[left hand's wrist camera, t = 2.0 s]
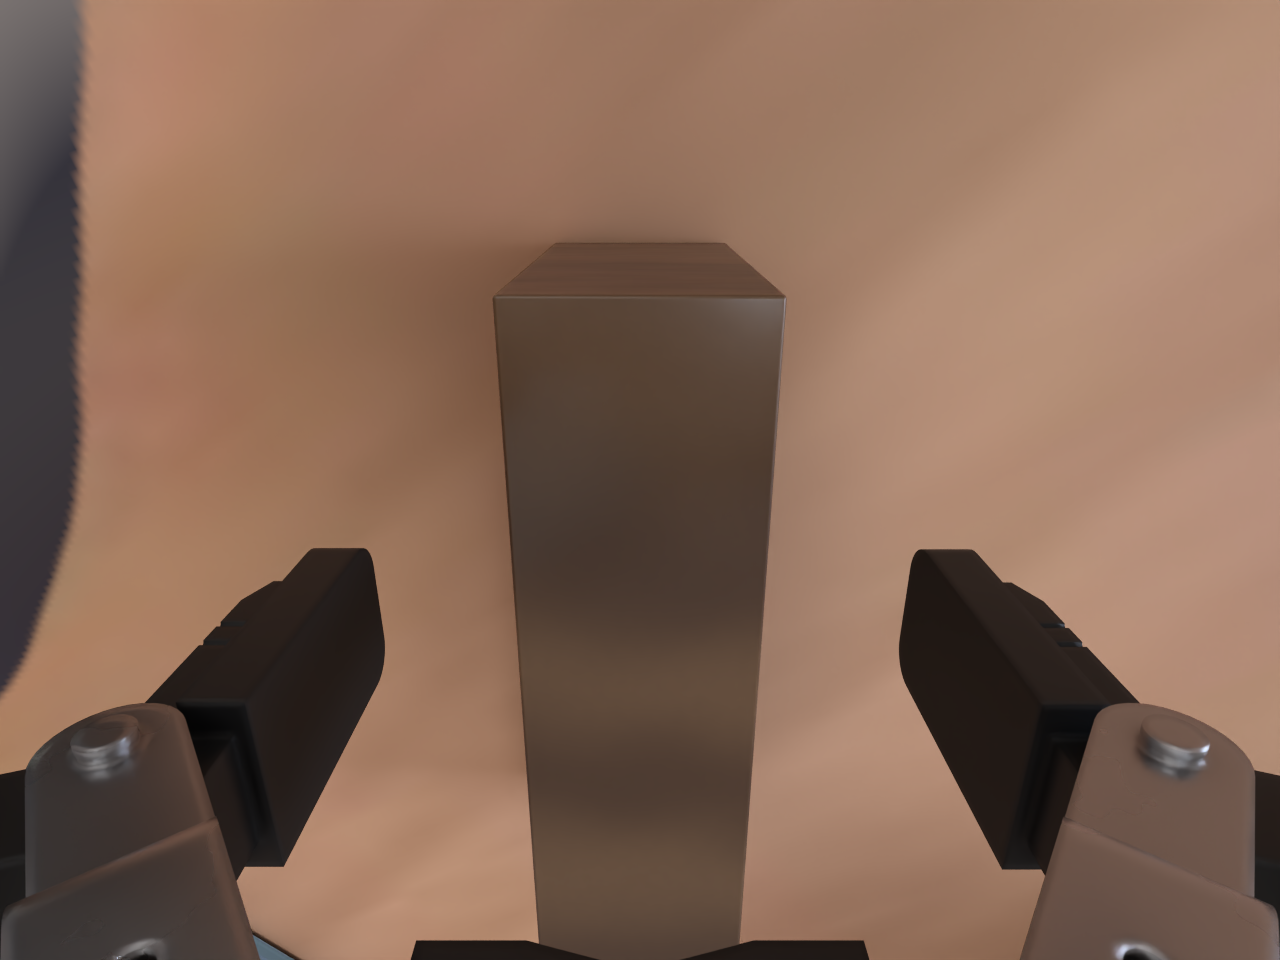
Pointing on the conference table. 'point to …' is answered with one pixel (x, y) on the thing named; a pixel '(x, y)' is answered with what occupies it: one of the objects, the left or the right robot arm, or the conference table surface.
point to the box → (639, 581)
